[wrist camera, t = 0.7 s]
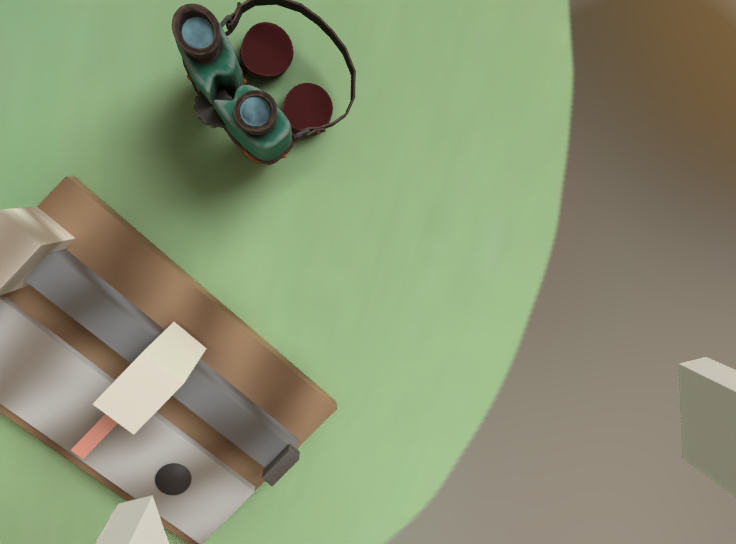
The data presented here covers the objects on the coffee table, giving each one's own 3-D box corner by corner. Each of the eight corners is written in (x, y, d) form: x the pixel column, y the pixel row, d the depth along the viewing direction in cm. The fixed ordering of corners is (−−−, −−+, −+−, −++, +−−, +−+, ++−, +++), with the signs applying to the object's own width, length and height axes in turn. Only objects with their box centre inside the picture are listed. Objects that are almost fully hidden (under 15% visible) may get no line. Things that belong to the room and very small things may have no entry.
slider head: (81, 417, 33) (30, 467, 27) (173, 321, 32) (143, 351, 26) (115, 442, 33) (73, 496, 27) (206, 348, 33) (183, 383, 27)
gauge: (-79, 341, 32) (-153, 370, 27) (75, 176, 31) (28, 174, 26) (200, 537, 37) (182, 593, 32) (336, 401, 36) (340, 435, 31)
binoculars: (403, 62, 23) (243, 176, 22) (362, 109, 33) (252, 188, 32) (296, -108, 21) (116, 9, 20) (288, -3, 31) (168, 78, 30)
